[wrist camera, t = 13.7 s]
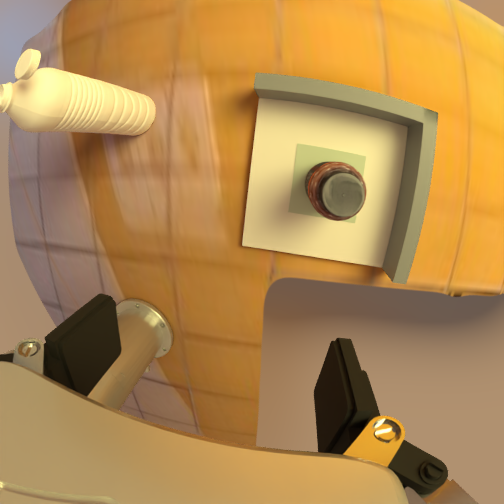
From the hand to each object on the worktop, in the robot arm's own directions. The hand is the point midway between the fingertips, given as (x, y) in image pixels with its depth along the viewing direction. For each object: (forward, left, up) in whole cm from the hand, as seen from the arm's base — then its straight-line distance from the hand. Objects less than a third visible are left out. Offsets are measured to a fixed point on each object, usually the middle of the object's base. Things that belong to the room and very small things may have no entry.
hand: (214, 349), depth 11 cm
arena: (+6, -8, -28) cm, 30 cm away
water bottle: (+13, +20, -28) cm, 37 cm away
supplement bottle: (+5, -7, -27) cm, 28 cm away
